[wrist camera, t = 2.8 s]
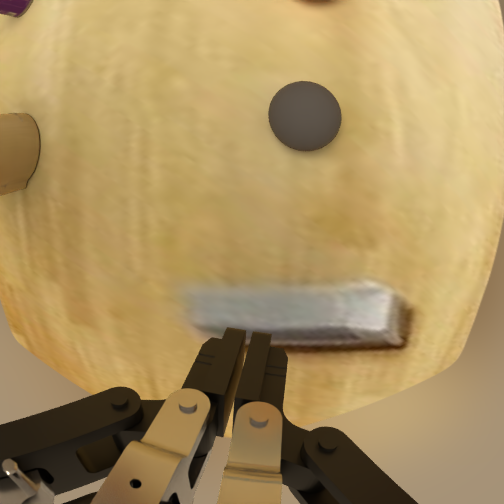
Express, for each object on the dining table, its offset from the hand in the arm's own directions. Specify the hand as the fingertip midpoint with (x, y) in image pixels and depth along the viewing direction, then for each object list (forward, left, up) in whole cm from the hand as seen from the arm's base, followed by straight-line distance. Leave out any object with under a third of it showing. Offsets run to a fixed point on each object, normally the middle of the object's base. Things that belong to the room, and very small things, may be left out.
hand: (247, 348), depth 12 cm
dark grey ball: (+10, +2, -14) cm, 17 cm away
